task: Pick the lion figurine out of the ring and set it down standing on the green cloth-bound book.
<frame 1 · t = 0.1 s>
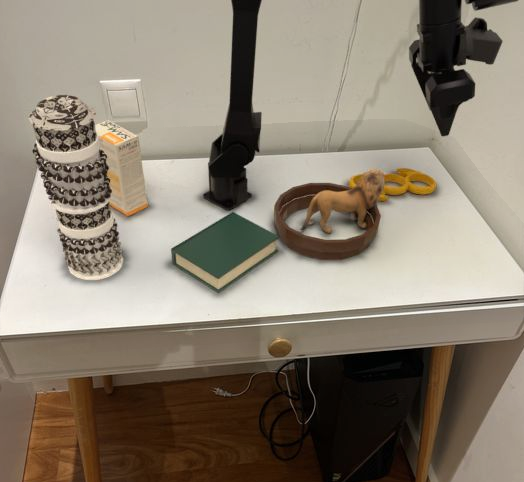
hand: (438, 122, 92), 15 cm above the table, tool pointing down, fingers open, 9 cm apart
supplement box: (124, 203, 100), on the table
ring: (324, 230, 96), on the table
lion figurine: (341, 223, 98), resting in ring
novelty glasses: (391, 188, 107), on the table
decorative candle: (95, 263, 88), on the table
book: (226, 257, 90), on the table
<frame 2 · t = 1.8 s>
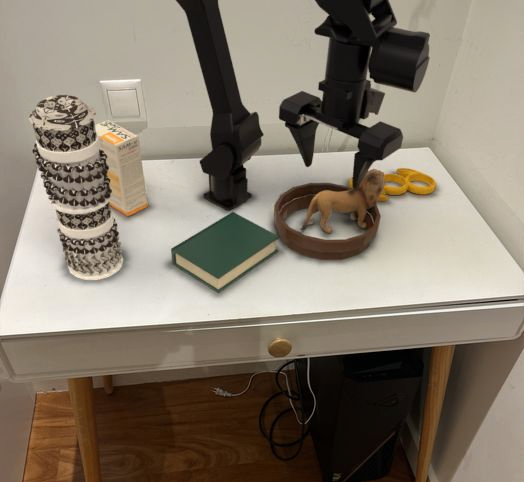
hand: (331, 176, 89), 10 cm above the table, tool pointing down, fingers open, 9 cm apart
nothing on the table moved.
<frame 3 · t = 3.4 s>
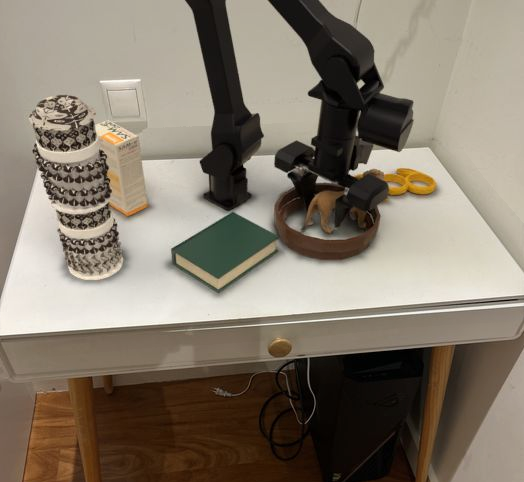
hand: (322, 219, 95), 2 cm above the table, tool pointing down, fingers closed on lion figurine, 6 cm apart
lion figurine: (342, 223, 98), resting in ring, touching gripper
everything else where it was.
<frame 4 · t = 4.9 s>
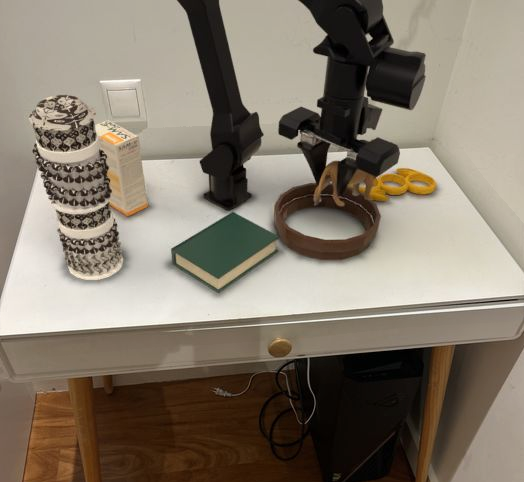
hand: (329, 190, 91), 8 cm above the table, tool pointing down, fingers closed on lion figurine, 4 cm apart
lion figurine: (346, 199, 94), point 5 cm above the table, touching gripper
everything else where it was.
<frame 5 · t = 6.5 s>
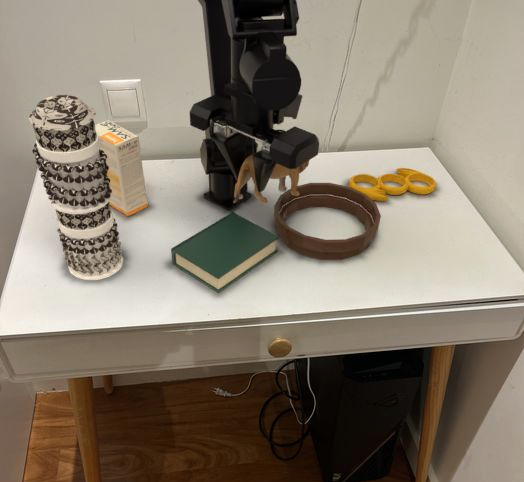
hand: (250, 185, 83), 12 cm above the table, tool pointing down, fingers closed on lion figurine, 4 cm apart
lion figurine: (272, 196, 86), point 9 cm above the table, touching gripper
everything else where it was.
when the fingers open (6 cm above the table, at t = 8.4 s): lion figurine stays where it is, resting on book.
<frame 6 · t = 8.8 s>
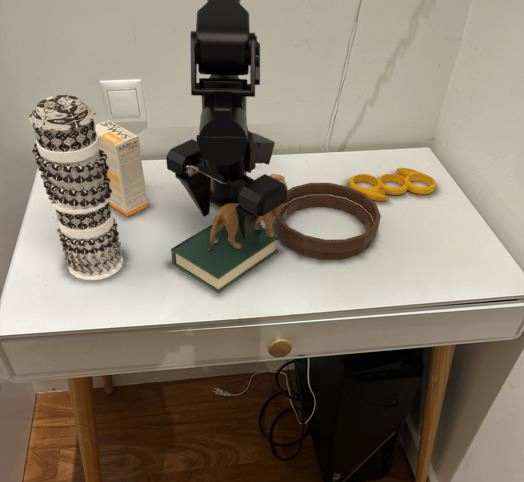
hand: (225, 226, 86), 6 cm above the table, tool pointing down, fingers open, 8 cm apart
lion figurine: (247, 236, 90), point 3 cm above the table, touching book
everything else where it was.
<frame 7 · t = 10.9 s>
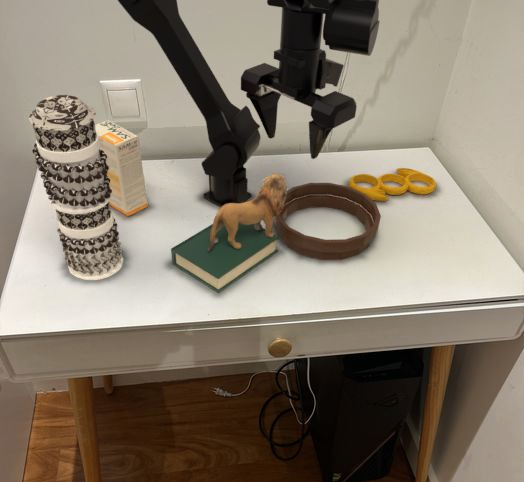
hand: (292, 147, 91), 12 cm above the table, tool pointing down, fingers open, 9 cm apart
nothing on the table moved.
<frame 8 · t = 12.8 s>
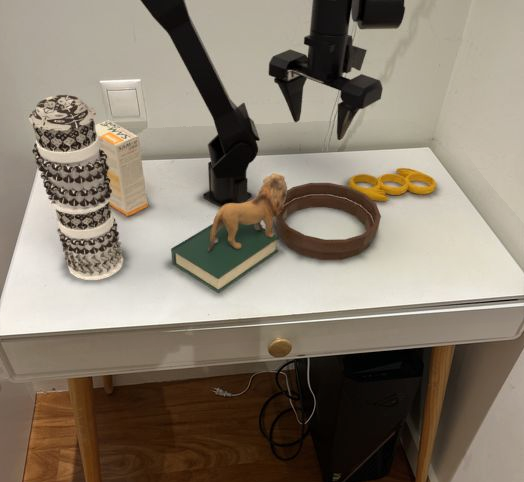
hand: (318, 130, 96), 12 cm above the table, tool pointing down, fingers open, 9 cm apart
nothing on the table moved.
at the end: lion figurine inside the target area on the book (3.9 cm from its centre), point 2.8 cm above the book's base; lion figurine tilted 0°; lion figurine touching book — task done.
